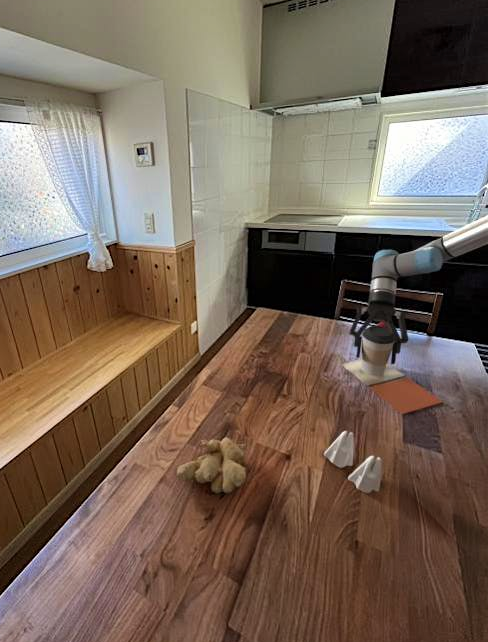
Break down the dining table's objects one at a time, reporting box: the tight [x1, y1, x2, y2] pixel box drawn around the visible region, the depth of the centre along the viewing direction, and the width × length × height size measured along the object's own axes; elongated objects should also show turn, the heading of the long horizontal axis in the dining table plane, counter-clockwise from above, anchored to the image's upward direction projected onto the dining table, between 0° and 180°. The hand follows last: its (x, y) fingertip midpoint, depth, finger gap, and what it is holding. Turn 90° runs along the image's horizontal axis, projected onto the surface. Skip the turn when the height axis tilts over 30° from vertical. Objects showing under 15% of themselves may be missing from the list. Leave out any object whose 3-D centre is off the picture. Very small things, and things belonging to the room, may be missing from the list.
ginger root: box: [176, 437, 248, 494], centre depth 78 cm, size 16×16×8 cm
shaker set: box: [323, 430, 383, 494], centre depth 74 cm, size 12×4×11 cm, turn 30°
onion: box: [376, 321, 388, 328], centre depth 126 cm, size 6×6×8 cm
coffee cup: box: [360, 325, 395, 376], centre depth 107 cm, size 9×9×15 cm
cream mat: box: [341, 359, 406, 387], centre depth 110 cm, size 12×14×1 cm
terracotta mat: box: [369, 377, 444, 415], centre depth 99 cm, size 12×14×1 cm
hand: (375, 359), depth 105 cm, fingers closed on coffee cup, 9 cm apart
